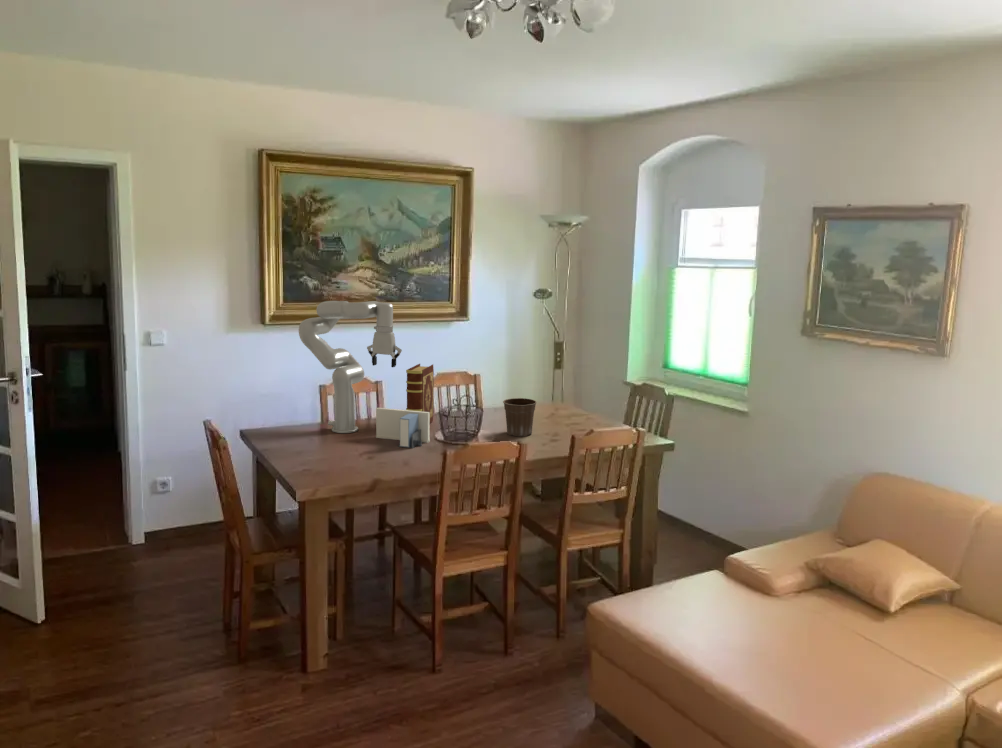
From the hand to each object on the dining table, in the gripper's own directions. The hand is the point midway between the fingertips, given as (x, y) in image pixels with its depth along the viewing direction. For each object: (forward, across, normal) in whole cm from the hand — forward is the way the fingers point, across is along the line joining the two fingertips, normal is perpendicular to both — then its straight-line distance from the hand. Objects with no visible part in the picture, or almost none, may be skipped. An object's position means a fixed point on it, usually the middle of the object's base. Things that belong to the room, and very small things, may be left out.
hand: (384, 366), depth 360 cm
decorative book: (+34, +8, +25) cm, 43 cm away
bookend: (+33, +19, -10) cm, 40 cm away
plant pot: (+33, +59, +29) cm, 74 cm away
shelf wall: (+34, +11, -3) cm, 35 cm away
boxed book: (+33, +18, -10) cm, 39 cm away
